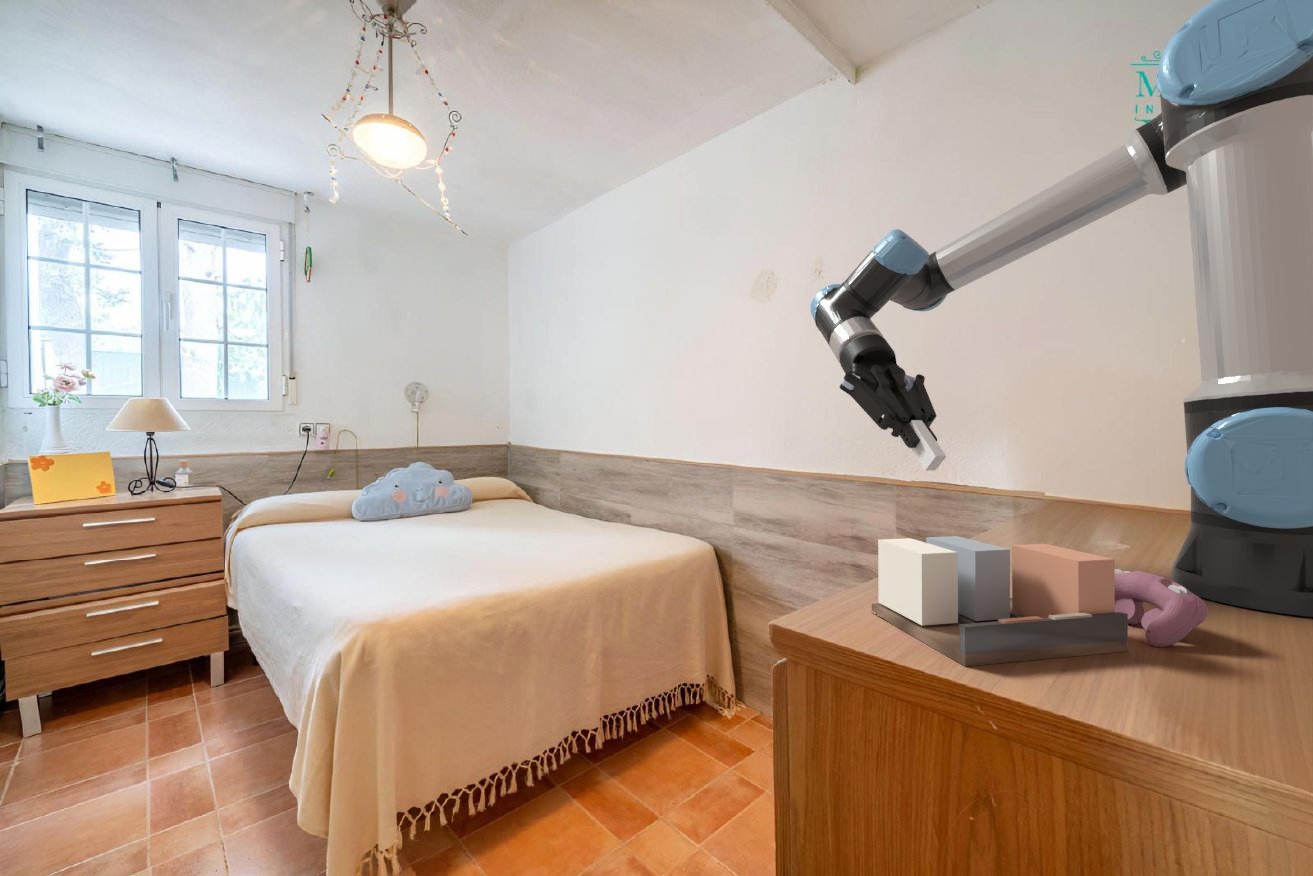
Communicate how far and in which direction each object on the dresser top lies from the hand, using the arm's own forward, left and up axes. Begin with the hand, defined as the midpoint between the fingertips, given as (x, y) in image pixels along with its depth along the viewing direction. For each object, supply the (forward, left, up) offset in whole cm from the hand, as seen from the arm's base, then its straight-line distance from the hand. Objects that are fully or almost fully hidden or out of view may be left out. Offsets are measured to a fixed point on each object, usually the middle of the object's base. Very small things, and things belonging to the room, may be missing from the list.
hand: (935, 463), depth 64 cm
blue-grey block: (-7, +7, -15) cm, 18 cm away
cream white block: (-5, +12, -15) cm, 20 cm away
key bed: (-9, +7, -16) cm, 20 cm away
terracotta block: (-14, +3, -15) cm, 21 cm away
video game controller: (-17, -6, -17) cm, 25 cm away
